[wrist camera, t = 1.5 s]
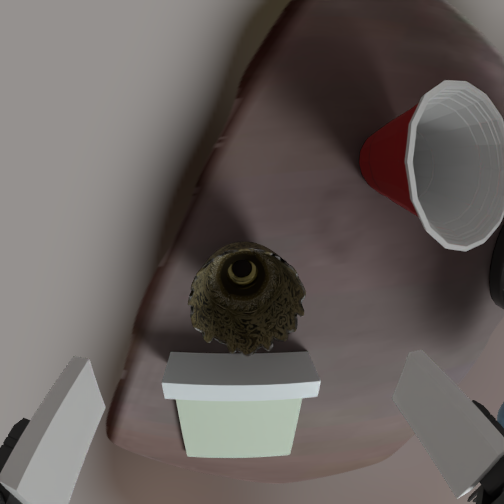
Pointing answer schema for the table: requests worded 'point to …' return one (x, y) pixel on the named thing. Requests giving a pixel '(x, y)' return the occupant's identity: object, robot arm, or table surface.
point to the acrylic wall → (240, 376)
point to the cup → (246, 299)
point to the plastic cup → (443, 164)
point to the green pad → (238, 427)
